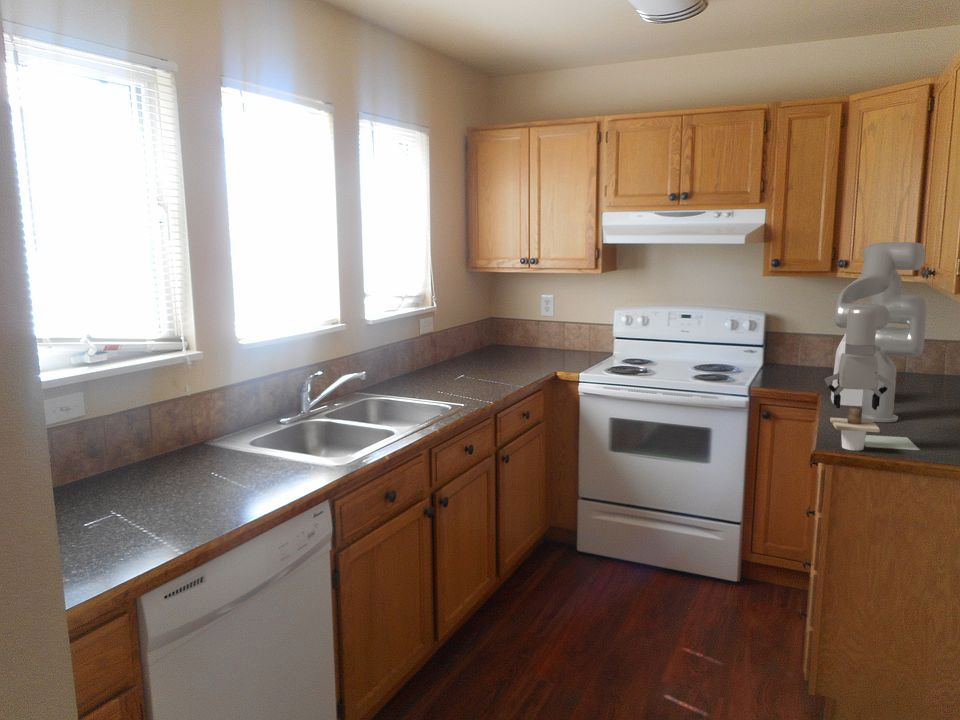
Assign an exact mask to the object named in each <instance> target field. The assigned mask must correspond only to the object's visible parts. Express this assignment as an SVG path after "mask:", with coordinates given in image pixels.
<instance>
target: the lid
mask: <svg viewBox="0 0 960 720" xmlns="http://www.w3.org/2000/svg"><path fill="white" fill-rule="evenodd" d="M861 418H862V407H861V406H848V413H847V417H830V418H829V419H830V420H829V421H830V422H831V424H832V425H833V427H834V428H835V429H836V431H841V430H848V431H865V432H866V433H867V432H869V433H870V432H871V433H880V431H881V430H880V427H879V426H878V425H877V424H876V422H873V421H872V420H869V419H861Z"/></svg>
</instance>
